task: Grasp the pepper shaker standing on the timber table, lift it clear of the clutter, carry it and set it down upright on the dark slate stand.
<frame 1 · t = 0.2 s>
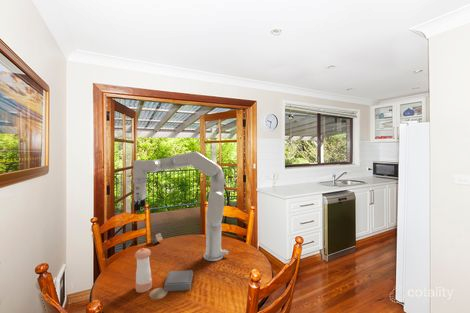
hand: (139, 208, 131), 31 cm above the table, fingers open, 9 cm apart
walnut block: (158, 241, 156), point 1 cm above the table, tilted 30°
slate stand: (179, 283, 108), on the table
pepper shaker: (143, 288, 104), on the table
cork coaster: (158, 294, 100), on the table, touching slate stand
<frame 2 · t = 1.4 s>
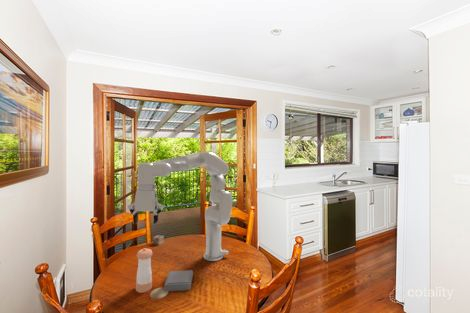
hand: (145, 222, 107), 31 cm above the table, fingers open, 9 cm apart
walnut block: (158, 243, 156), on the table
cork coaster: (159, 294, 100), on the table
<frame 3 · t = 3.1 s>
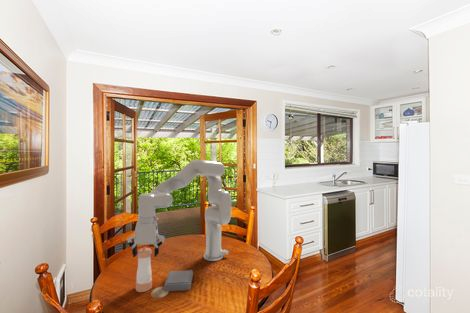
hand: (145, 255, 103), 16 cm above the table, fingers open, 9 cm apart
pepper shaker: (143, 288, 104), on the table, touching gripper
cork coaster: (160, 293, 101), on the table, touching slate stand
everything else where it was.
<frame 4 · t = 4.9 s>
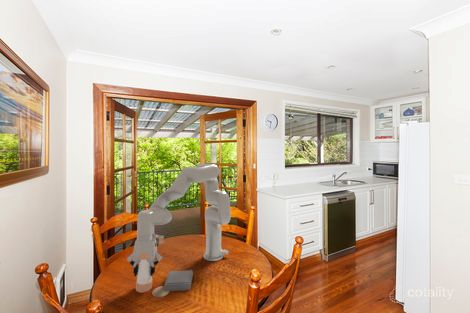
hand: (144, 274, 103), 7 cm above the table, fingers closed on pepper shaker, 6 cm apart
pepper shaker: (143, 288, 104), on the table, touching gripper
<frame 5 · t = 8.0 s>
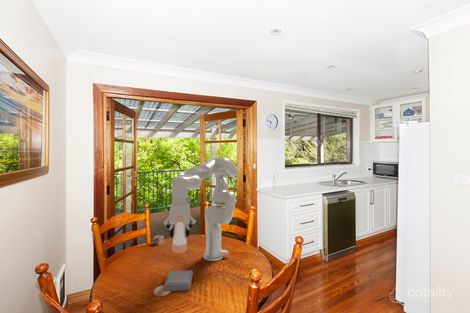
hand: (179, 236, 108), 23 cm above the table, fingers closed on pepper shaker, 6 cm apart
pepper shaker: (179, 249, 109), point 16 cm above the table, touching gripper
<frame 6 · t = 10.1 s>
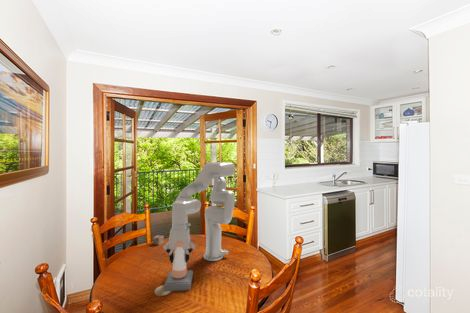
hand: (179, 261, 108), 11 cm above the table, fingers closed on pepper shaker, 6 cm apart
pepper shaker: (179, 274, 109), point 4 cm above the table, touching gripper
when the fingers open (10 cm above the table, at t = 11.3 s): pepper shaker stays where it is, resting on slate stand.
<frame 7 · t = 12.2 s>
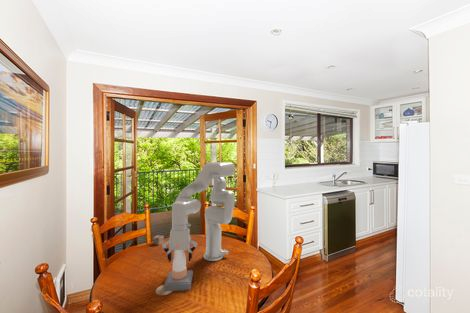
hand: (179, 260, 108), 11 cm above the table, fingers open, 9 cm apart
pepper shaker: (179, 275, 109), point 3 cm above the table, touching slate stand
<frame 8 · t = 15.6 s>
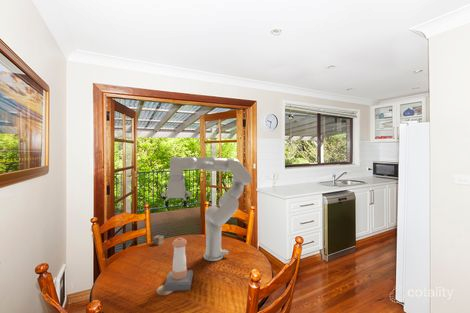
hand: (176, 207, 126), 33 cm above the table, fingers open, 9 cm apart
at the end: pepper shaker inside the target area on the slate stand (1.0 cm from its centre), point 3.1 cm above the slate stand's base; pepper shaker tilted 0°; pepper shaker touching slate stand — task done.
